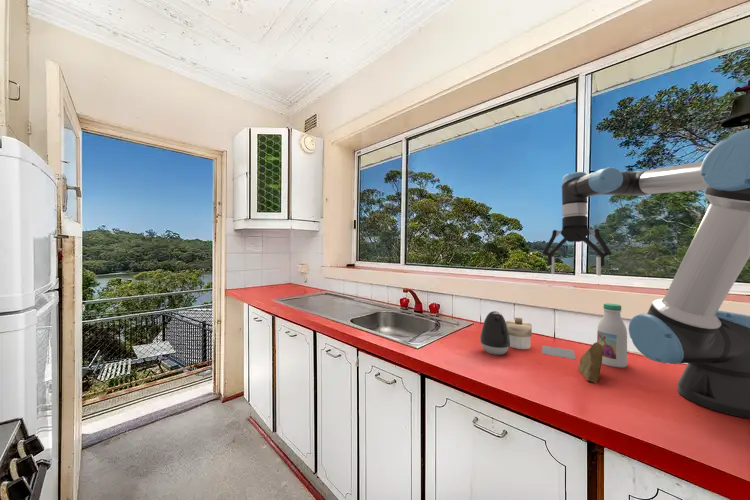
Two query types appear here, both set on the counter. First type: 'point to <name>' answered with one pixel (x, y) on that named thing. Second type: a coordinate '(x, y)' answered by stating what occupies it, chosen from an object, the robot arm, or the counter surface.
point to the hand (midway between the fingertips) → (575, 274)
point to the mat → (558, 352)
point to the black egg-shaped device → (495, 334)
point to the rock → (592, 362)
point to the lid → (519, 328)
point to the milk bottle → (613, 336)
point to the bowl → (519, 342)
